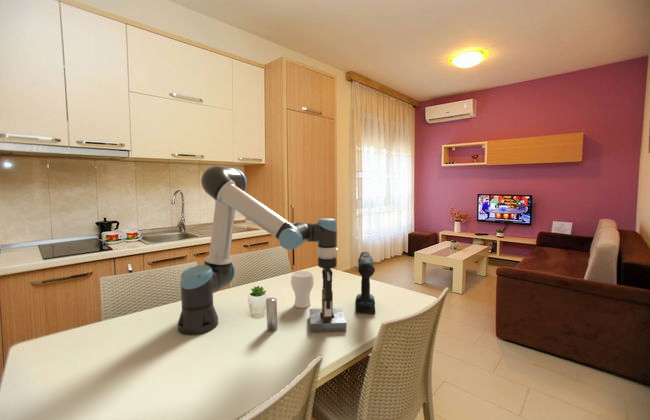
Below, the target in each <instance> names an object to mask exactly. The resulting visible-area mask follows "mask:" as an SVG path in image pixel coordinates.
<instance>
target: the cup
mask: <svg viewBox="0 0 650 420" xmlns="http://www.w3.org/2000/svg"><path fill="white" fill-rule="evenodd" d="M290 285H291V288H292V290H293V292H294V296H295V298H294V299H295V300H294V304H293V305H294V306H295V307H296V308H298V309H306V308H309V307H311V297H310V296H311V291H312V290H313V287H314V274H313V273H312V272H311V271H308V270H307V271H304V270H301V271H294V272H293V273H292V275H291V279H290ZM295 307H294V308H295Z"/></svg>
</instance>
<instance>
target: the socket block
mask: <svg viewBox="0 0 650 420" xmlns="http://www.w3.org/2000/svg"><path fill="white" fill-rule="evenodd" d="M345 316H346V315H345V313H344V311H343V307H333V318H324V319H322V308H309V328H310V333H311V334H313V333H314V334H315V333H316V334H317V333H335V332H336V333H337V332H343V333H344V332H347V330H348V329H347V320H346V317H345Z"/></svg>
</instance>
